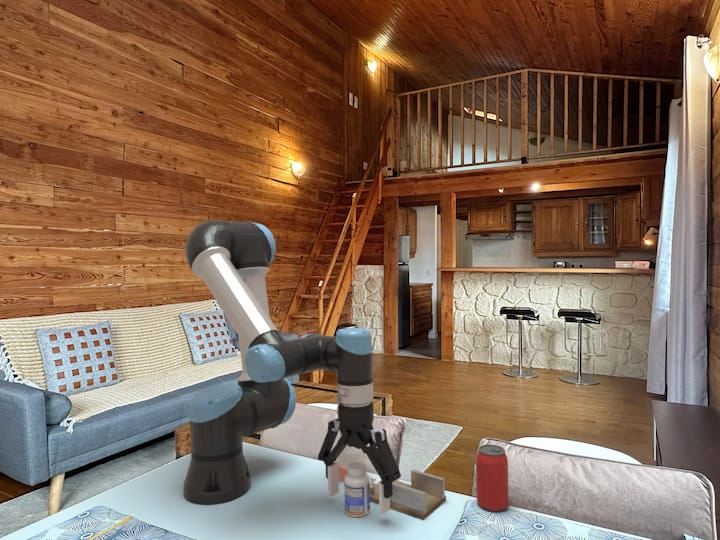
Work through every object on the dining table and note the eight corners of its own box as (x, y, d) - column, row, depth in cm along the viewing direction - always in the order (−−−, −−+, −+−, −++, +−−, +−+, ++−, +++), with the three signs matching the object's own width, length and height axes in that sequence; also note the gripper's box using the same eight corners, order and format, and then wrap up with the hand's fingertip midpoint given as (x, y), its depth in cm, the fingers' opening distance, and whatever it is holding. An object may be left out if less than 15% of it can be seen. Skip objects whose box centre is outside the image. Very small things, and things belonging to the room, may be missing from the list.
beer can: (510, 514, 99) (509, 456, 98) (477, 511, 100) (476, 454, 100) (507, 498, 105) (506, 444, 105) (476, 496, 106) (475, 442, 106)
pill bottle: (357, 502, 105) (357, 458, 104) (375, 511, 101) (374, 465, 101) (339, 511, 101) (338, 465, 101) (357, 521, 97) (356, 473, 97)
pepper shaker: (341, 469, 121) (339, 394, 121) (369, 471, 120) (367, 395, 120) (333, 482, 114) (332, 402, 114) (363, 484, 113) (362, 404, 113)
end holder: (391, 502, 102) (391, 484, 102) (413, 486, 109) (413, 469, 109) (424, 514, 97) (424, 494, 97) (444, 496, 104) (444, 478, 104)
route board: (360, 497, 107) (360, 493, 106) (385, 481, 114) (385, 477, 114) (423, 520, 97) (423, 515, 97) (446, 500, 105) (446, 495, 105)
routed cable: (360, 491, 107) (360, 481, 107) (378, 480, 113) (377, 470, 113) (388, 501, 103) (388, 490, 103) (405, 489, 108) (404, 478, 108)
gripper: (300, 397, 105) (303, 494, 105) (395, 416, 90) (398, 529, 90) (323, 390, 111) (325, 481, 111) (415, 407, 96) (418, 512, 96)
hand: (358, 503), depth 101 cm, fingers open, 13 cm apart
